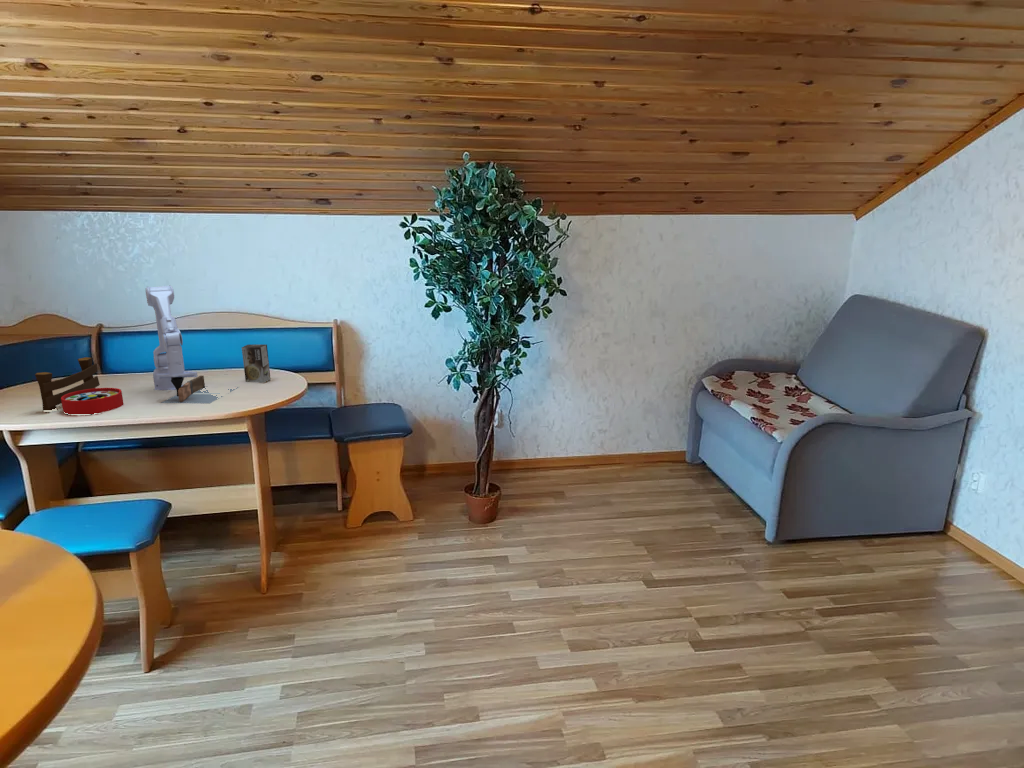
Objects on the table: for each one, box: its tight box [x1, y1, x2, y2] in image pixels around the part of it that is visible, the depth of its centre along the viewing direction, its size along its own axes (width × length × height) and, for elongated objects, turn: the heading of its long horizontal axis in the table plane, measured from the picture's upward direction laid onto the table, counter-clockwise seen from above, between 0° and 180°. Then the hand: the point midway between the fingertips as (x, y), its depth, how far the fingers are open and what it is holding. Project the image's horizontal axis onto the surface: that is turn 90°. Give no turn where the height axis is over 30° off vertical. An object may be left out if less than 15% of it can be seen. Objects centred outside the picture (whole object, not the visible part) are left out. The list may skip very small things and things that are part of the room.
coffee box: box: [241, 343, 271, 383], centre depth 301 cm, size 9×6×16 cm
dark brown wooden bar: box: [186, 375, 206, 394], centre depth 285 cm, size 2×12×5 cm, turn 177°
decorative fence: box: [34, 356, 100, 411], centre depth 270 cm, size 34×6×15 cm, turn 1°
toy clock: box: [61, 387, 124, 414], centre depth 261 cm, size 20×6×20 cm
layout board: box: [160, 386, 240, 405], centre depth 279 cm, size 20×26×1 cm
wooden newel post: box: [178, 382, 191, 402], centre depth 273 cm, size 12×2×5 cm, turn 9°
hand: (179, 395), depth 272 cm, fingers closed
